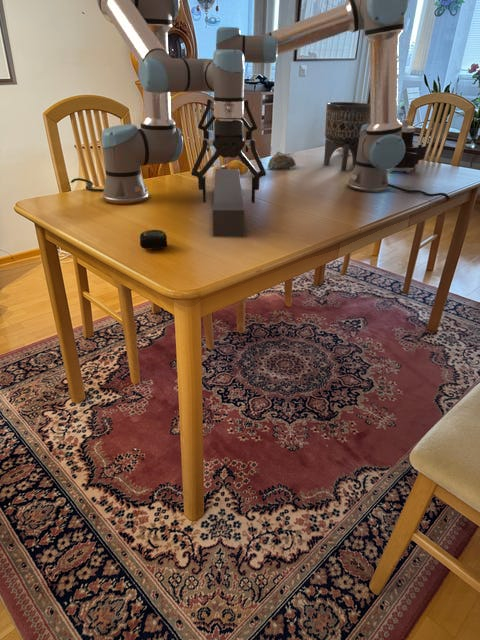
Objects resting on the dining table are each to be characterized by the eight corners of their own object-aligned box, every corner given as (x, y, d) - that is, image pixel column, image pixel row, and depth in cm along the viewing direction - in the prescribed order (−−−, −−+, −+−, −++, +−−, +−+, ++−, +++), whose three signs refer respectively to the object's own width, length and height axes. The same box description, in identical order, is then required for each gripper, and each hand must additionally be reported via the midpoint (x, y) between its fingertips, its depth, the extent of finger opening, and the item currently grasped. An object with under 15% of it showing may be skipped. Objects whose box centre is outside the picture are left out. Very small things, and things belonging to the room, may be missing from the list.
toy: (217, 168, 186) (223, 160, 199) (223, 183, 189) (228, 174, 202) (243, 159, 183) (247, 151, 195) (248, 175, 186) (252, 166, 198)
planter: (313, 167, 208) (319, 103, 195) (331, 160, 222) (338, 101, 209) (353, 173, 199) (362, 107, 185) (369, 166, 213) (379, 104, 199)
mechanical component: (372, 119, 196) (401, 114, 216) (364, 169, 206) (392, 160, 226) (421, 124, 184) (447, 118, 203) (410, 177, 194) (436, 167, 214)
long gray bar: (215, 189, 171) (215, 168, 168) (238, 189, 172) (238, 169, 168) (213, 236, 127) (212, 210, 123) (243, 236, 127) (244, 210, 123)
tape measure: (140, 252, 115) (139, 238, 113) (141, 242, 120) (140, 229, 119) (167, 251, 116) (166, 237, 114) (167, 241, 121) (166, 228, 120)
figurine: (357, 153, 242) (361, 127, 235) (346, 157, 231) (349, 130, 224) (343, 151, 245) (346, 126, 239) (331, 155, 235) (334, 129, 228)
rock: (286, 164, 212) (287, 149, 208) (299, 167, 206) (301, 152, 203) (265, 168, 204) (266, 153, 201) (279, 171, 199) (280, 156, 195)
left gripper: (178, 120, 113) (183, 205, 123) (278, 121, 114) (274, 205, 124) (181, 117, 119) (185, 197, 130) (275, 118, 120) (271, 198, 131)
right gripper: (189, 82, 145) (191, 152, 156) (266, 84, 146) (263, 153, 157) (190, 81, 151) (192, 148, 162) (264, 83, 152) (262, 149, 163)
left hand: (228, 201), depth 127 cm, fingers open, 13 cm apart
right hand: (227, 151), depth 159 cm, fingers open, 13 cm apart
